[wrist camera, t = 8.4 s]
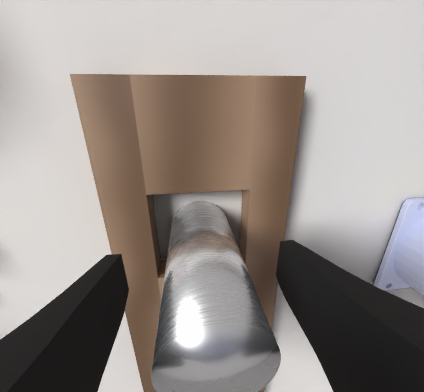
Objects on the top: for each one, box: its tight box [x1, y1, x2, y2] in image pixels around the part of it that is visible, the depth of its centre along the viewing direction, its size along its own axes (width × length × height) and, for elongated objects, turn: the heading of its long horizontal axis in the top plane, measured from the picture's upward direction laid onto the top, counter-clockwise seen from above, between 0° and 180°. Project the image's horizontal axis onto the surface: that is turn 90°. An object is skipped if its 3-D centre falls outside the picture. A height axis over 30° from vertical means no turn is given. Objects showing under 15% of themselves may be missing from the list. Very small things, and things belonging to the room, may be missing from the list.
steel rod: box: [151, 201, 281, 392], centre depth 9 cm, size 4×4×8 cm
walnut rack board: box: [70, 74, 306, 392], centre depth 15 cm, size 10×32×2 cm, turn 1°
